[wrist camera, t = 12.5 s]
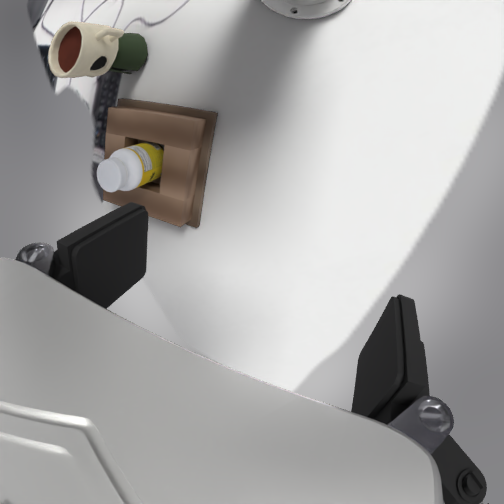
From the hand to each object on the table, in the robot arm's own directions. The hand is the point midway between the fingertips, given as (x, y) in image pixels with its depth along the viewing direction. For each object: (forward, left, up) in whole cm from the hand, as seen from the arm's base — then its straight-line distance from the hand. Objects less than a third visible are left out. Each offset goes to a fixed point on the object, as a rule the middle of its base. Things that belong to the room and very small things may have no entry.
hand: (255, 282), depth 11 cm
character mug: (-9, -30, -28) cm, 42 cm away
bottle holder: (+6, -23, -28) cm, 37 cm away
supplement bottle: (+6, -23, -28) cm, 36 cm away
